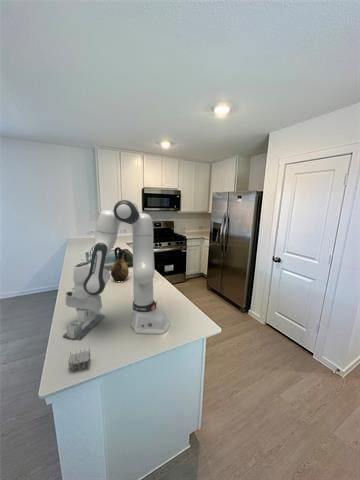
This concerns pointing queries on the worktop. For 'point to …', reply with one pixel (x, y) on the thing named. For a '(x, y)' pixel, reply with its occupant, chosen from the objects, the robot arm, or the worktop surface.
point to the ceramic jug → (119, 266)
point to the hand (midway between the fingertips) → (84, 315)
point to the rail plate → (83, 326)
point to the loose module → (82, 315)
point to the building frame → (82, 358)
